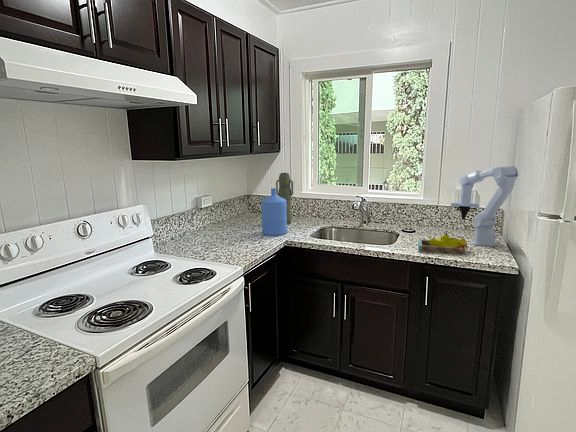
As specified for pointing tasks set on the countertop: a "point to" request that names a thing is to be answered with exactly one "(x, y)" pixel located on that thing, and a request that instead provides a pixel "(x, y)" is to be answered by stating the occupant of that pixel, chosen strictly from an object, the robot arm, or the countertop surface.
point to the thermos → (285, 192)
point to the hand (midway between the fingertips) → (463, 219)
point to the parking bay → (437, 248)
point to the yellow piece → (449, 242)
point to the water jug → (274, 215)
